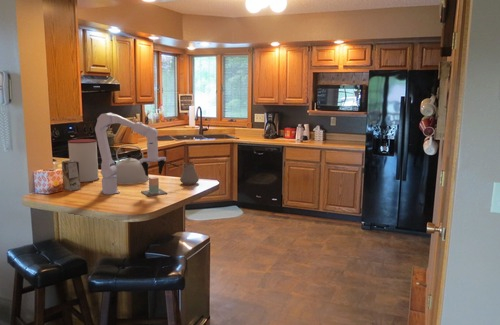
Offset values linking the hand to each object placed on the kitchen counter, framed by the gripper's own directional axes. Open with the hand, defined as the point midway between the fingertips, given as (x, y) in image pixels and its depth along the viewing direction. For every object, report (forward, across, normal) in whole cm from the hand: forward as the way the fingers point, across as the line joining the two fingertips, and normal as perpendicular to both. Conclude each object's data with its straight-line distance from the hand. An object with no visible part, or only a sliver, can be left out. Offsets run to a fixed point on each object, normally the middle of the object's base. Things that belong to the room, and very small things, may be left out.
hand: (153, 174), depth 232 cm
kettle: (+11, +1, +39) cm, 41 cm away
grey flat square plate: (+10, 0, 0) cm, 10 cm away
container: (+11, -24, +56) cm, 62 cm away
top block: (+6, 0, 0) cm, 6 cm away
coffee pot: (+11, +22, +10) cm, 26 cm away
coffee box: (+11, -36, +35) cm, 51 cm away
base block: (+10, 0, 0) cm, 10 cm away
